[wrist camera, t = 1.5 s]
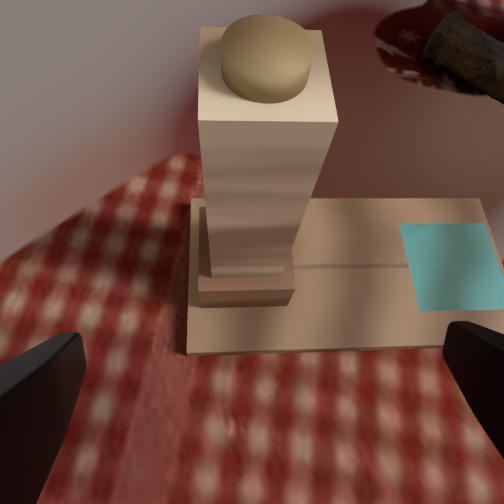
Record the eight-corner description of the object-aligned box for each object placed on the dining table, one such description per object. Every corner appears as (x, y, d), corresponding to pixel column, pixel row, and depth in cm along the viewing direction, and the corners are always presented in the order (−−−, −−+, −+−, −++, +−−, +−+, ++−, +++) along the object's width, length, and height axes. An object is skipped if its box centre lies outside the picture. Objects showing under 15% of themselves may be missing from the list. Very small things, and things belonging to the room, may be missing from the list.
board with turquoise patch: (188, 356, 22) (186, 353, 21) (192, 206, 26) (191, 198, 25) (517, 345, 23) (529, 342, 22) (470, 206, 27) (479, 198, 26)
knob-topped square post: (287, 306, 22) (381, 120, 9) (201, 308, 22) (163, 117, 8) (280, 231, 24) (348, -12, 11) (202, 231, 24) (173, -19, 11)
